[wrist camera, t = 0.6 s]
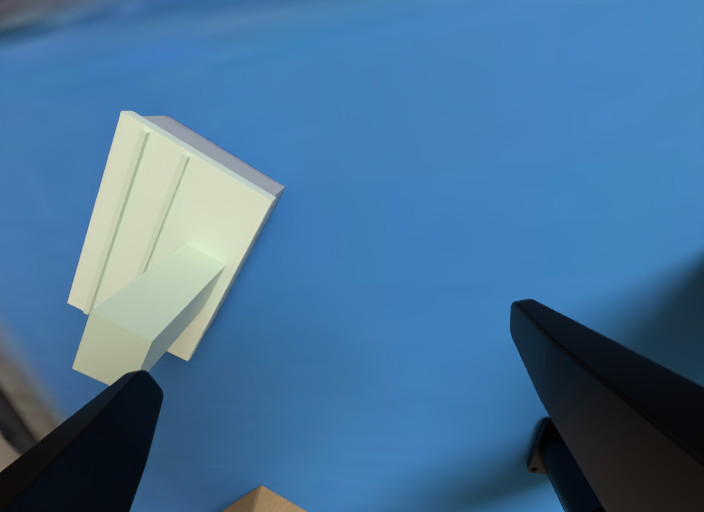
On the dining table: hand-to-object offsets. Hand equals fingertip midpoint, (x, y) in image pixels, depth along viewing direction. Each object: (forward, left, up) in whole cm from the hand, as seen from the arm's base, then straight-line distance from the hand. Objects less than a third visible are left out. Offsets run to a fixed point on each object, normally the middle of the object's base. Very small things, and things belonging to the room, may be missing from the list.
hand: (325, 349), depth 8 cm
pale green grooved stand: (-3, +11, -11) cm, 16 cm away
